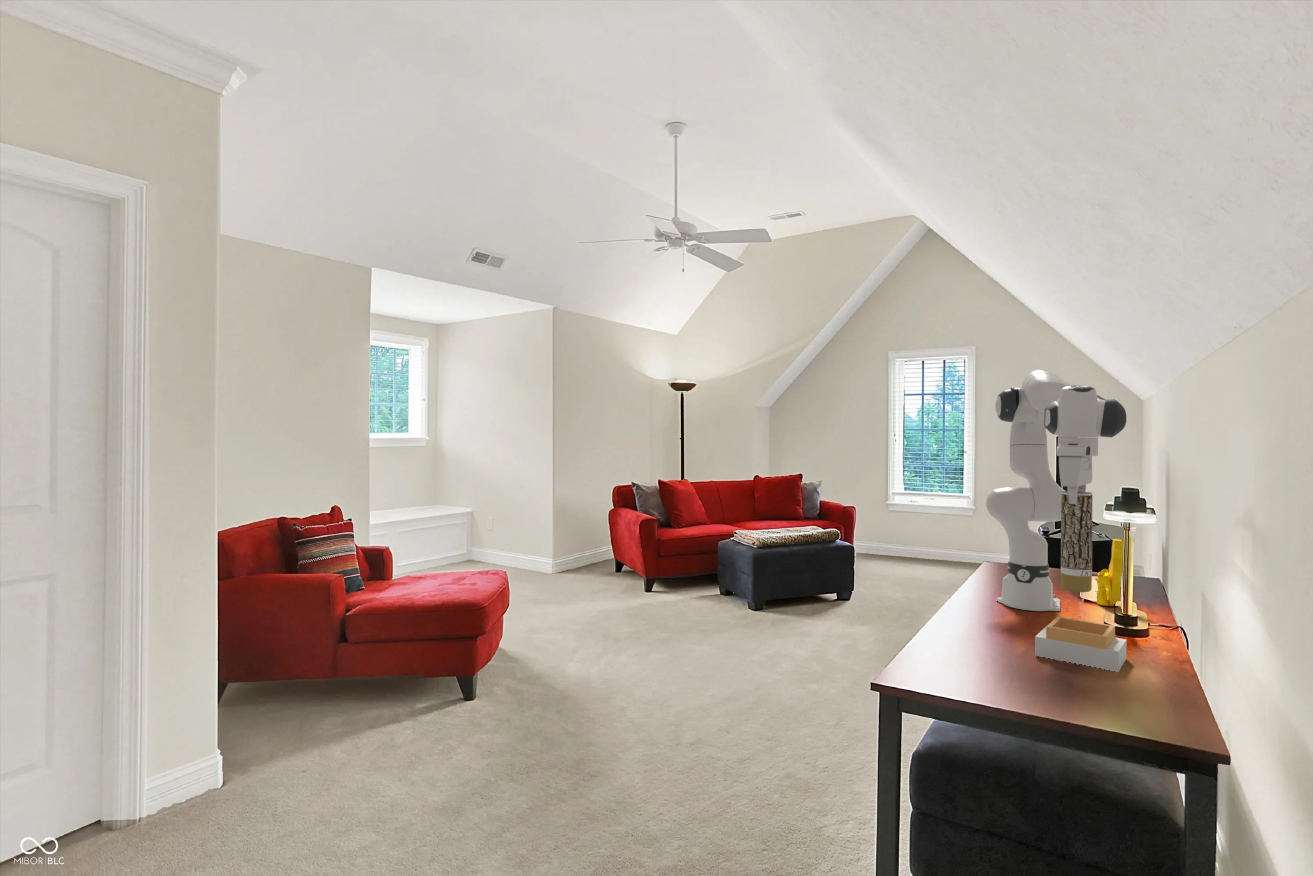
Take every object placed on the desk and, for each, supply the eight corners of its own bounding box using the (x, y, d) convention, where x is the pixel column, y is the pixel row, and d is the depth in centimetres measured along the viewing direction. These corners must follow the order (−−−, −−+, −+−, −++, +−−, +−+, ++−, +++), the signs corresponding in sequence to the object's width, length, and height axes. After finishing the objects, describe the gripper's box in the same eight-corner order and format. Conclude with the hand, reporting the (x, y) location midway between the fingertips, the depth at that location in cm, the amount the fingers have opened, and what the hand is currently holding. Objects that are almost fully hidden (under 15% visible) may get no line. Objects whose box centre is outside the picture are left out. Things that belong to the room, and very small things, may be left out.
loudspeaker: (1046, 644, 188) (1046, 614, 188) (1126, 659, 176) (1126, 627, 176) (1034, 655, 178) (1035, 624, 178) (1118, 672, 166) (1119, 639, 166)
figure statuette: (1089, 598, 240) (1091, 534, 240) (1116, 600, 237) (1117, 536, 237) (1101, 610, 224) (1102, 542, 223) (1129, 613, 221) (1131, 544, 220)
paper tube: (1057, 590, 177) (1058, 492, 177) (1064, 585, 182) (1065, 490, 182) (1088, 594, 173) (1089, 493, 173) (1094, 590, 178) (1095, 492, 178)
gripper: (1071, 448, 187) (1071, 499, 187) (1054, 448, 172) (1053, 504, 172) (1099, 448, 183) (1098, 500, 183) (1084, 449, 168) (1083, 506, 168)
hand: (1076, 502), depth 177 cm, fingers closed on paper tube, 7 cm apart
